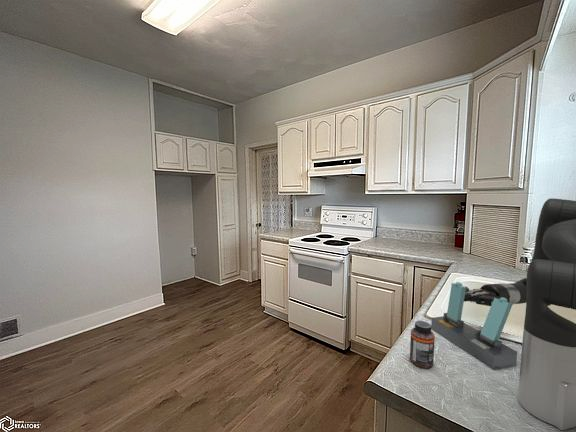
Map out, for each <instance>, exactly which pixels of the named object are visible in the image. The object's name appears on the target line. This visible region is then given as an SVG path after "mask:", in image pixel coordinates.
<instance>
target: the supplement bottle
mask: <svg viewBox="0 0 576 432" xmlns="http://www.w3.org/2000/svg"><path fill="white" fill-rule="evenodd" d="M435 340H436V339H435V334H434V332H433V331H432V329H431V323H429V322H427V321H424V320H417V321H415V322H414V327H412V329H411V330H410V342H409V343H410V345H409V346H410V348H409V360H410V361H411V362H412V364H414V365H415V366H417V367H419V368H422V369H429V368H432V367H433V365H434V362H435V361H434V359H435V358H434V357H435V343H436V341H435Z"/></svg>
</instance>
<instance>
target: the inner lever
mask: <svg viewBox="0 0 576 432" xmlns="http://www.w3.org/2000/svg"><path fill="white" fill-rule="evenodd" d="M512 307H513V305H512V304H510V303H508V300H507V299H506V298H503V297H502V298H500V299H497V298H494V300H493V303H492V305H491V306H490V307H489V310H488V312H487V314H486V315H487V316H486V318H485V321H484V322H483V326H482V328H481V333H480V335H479V337H480V338H481V339H483V340H484V341H486V342H488V343H490V344H492V345H493V346H494V344H495V341H500V338H501V335H502V333H503V330H504V328H505V325H506V323H507V320H508V317H509V314H510V312H511V309H512Z"/></svg>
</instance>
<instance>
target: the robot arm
mask: <svg viewBox="0 0 576 432" xmlns="http://www.w3.org/2000/svg"><path fill="white" fill-rule="evenodd" d="M536 227H537V229H536V234H535V239H534V240H535V243H534V250H533V256H532V259H531V261H530V263H529V264H528V267H527V271H526V277H525V278H521V279H520V280H517V281H516V282H513V283H512V282H511V283H504V282H502V283H501V282H500V283H485V284H483V285H482V286H481V287H480V288H473V289H470V288H469V287H467V286H465V287H466V291H465V297H464V303H465V302H470V303H475V304H477V305H481V306H487V307H491V305H492V303H493V300H494V298H497V299H500V298H502V297H503V298H506V299H507V300H508V303H510V304H512V306H513V305H520V304H521V305H522V304H525V316H524V324H523V331H522V332H523V333H522V343H521V356H520V368H519V378H518V388H517V391H518V392H517V401H518V403H519V404H520V406H521V407H522V408H524V410H526V411H527V412H528V413H529V414H531V415H532V416H534V417H536V418H537V419H539V420H541V421H542V422H545V423H548V424H551V425H552V426H554V427H556V428H558V430H560V431H565V430H568V429H573V428H576V323H575V322H574V321H572V320H569V319H568V318H565V317H563V316H561V315H560V314H559V313H557V312H555V311H554V310H552V309H551V308H550V307H549V306H551V305H553V306H557V307H561V308H566V309H571V310H575V311H576V200H572V199H563V198H552V197H551V198H548V199H547V200H546V201H545V202H544V203H543V204H542V208H541V209H540V214H539V218H538V222H537V226H536Z"/></svg>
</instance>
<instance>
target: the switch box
mask: <svg viewBox="0 0 576 432" xmlns="http://www.w3.org/2000/svg"><path fill="white" fill-rule="evenodd" d="M446 316H447V312H443V316H434V317H431V323H430V325H431V330H432V329H433V331H434V332H436V333H437V334H439V335H441V337H443V338H445V339H446V340H448V341H449V342H451V343H452V344H454V345H455V346H457V347H459V349H461V350H463V351H465V352H466V353H468V354H469V355H470V356H472V357H473V358H474V359H477V360H478V361H480V362H481V363H482V364H484V365H485V366H487V367H489V368H490V369H492V370H498V369H505V368H509V367H515V366H517V358H518V351H517V350H515V349H513V348H511V347H509V346H507V345H506V344H504V343H503V341H501V340H498V341H495V344H494V346H493V345H492V344H490V343H488V342H486V341H484V340H483V339H481V338H480V337H479V335H480V333H481V331H482V329H481V330H479V329H476V328H474V327H472V326H471V325H468V324H466V323H465V322H464V320H462V319H461V320H460V321H458V324H457V325H456V324H455V323H453V322H451V321H449V320H448V319H446Z"/></svg>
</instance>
